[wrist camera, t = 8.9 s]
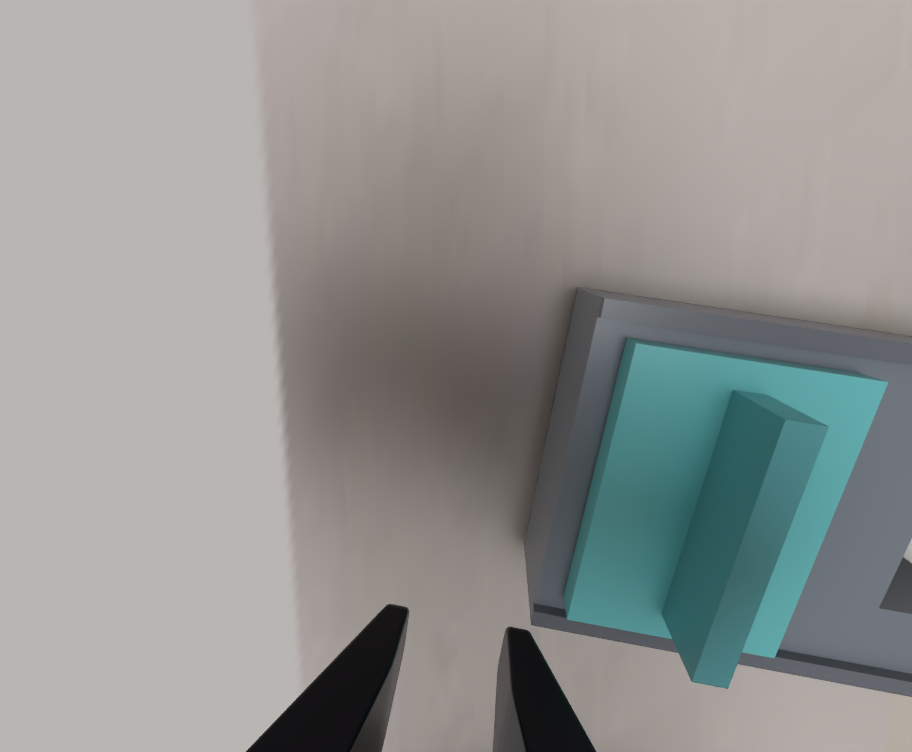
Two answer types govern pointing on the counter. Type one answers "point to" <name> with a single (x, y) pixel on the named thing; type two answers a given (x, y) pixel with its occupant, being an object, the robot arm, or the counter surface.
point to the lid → (714, 498)
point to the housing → (853, 524)
